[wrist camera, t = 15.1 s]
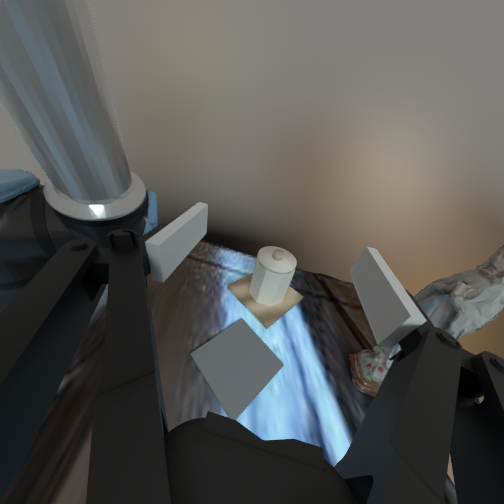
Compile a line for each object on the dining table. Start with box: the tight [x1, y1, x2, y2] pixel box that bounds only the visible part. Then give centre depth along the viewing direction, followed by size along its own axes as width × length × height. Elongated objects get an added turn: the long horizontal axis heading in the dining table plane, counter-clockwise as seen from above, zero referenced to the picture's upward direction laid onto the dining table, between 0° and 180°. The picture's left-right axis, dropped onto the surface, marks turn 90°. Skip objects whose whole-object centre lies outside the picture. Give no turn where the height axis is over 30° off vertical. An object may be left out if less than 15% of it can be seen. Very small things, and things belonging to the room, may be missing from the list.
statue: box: [349, 245, 504, 397], centre depth 27 cm, size 8×7×30 cm
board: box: [228, 273, 303, 329], centre depth 47 cm, size 14×14×1 cm
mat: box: [190, 319, 283, 420], centre depth 33 cm, size 12×12×1 cm
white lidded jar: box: [249, 246, 297, 306], centre depth 43 cm, size 9×9×12 cm
